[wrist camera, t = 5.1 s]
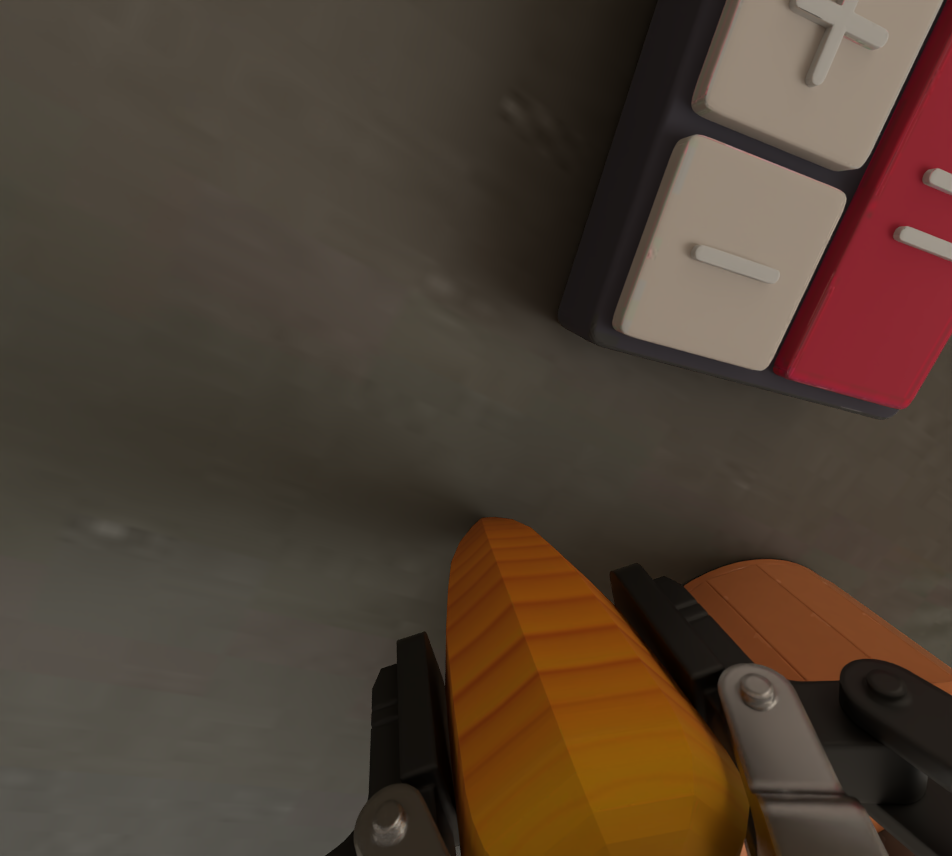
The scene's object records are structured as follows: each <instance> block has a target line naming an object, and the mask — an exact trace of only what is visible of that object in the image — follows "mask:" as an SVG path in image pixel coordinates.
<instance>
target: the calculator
mask: <svg viewBox="0 0 952 856" xmlns="http://www.w3.org/2000/svg"><path fill="white" fill-rule="evenodd" d="M558 320H559V323H560V324H561V325H562V326H563V327H565V328H566V329H568V330H570V331H571V332H573V333H575V334H577V335H579V336H581V337H582V338H584V339H586V340H588V341H590V342H592V343H594V344H596V345H598V346H601V347H604V348H608V349H612V350H616V351H620V352H623V353H627V354H631V355H635V356H639V357H642V358H646V359H650V360H654V361H658V362H661V363H665V364H669V365H673V366H677V367H681V368H684V369H688V370H692V371H696V372H700V373H703V374H707V375H711V376H715V377H719V378H722V379H726V380H730V381H734V382H738V383H741V384H745V385H749V386H753V387H757V388H761V389H764V390H768V391H772V392H776V393H780V394H783V395H787V396H791V397H795V398H799V399H802V400H806V401H810V402H814V403H818V404H822V405H825V406H829V407H833V408H837V409H841V410H844V411H848V412H852V413H856V414H860V415H863V416H867V417H871V418H875V419H880V420H884V419H888V418H890V417H892V416H894V415H895V414H896V413H897V412H898V410H899V409H904V408H906V407H908V406H909V405H910V403H911V402H912V400H913V399H914V397H915V396H916V394H917V392H918V391H919V389H920V387H921V386H922V384H923V382H924V381H925V379H926V377H927V375H928V374H929V372H930V370H931V369H932V367H933V365H934V363H935V362H936V360H937V358H938V357H939V355H940V353H941V351H942V350H943V348H944V346H945V345H946V343H947V341H948V340H949V338H950V336H951V334H952V0H658V2H657V5H656V8H655V11H654V14H653V17H652V20H651V23H650V26H649V30H648V33H647V36H646V39H645V42H644V45H643V48H642V51H641V54H640V57H639V61H638V64H637V67H636V70H635V73H634V76H633V79H632V82H631V85H630V89H629V92H628V95H627V98H626V101H625V104H624V107H623V110H622V113H621V117H620V120H619V123H618V126H617V129H616V132H615V135H614V138H613V141H612V145H611V148H610V151H609V154H608V157H607V160H606V163H605V166H604V169H603V173H602V176H601V179H600V182H599V185H598V188H597V191H596V194H595V197H594V201H593V204H592V207H591V210H590V213H589V216H588V219H587V222H586V225H585V229H584V232H583V235H582V238H581V241H580V244H579V247H578V250H577V253H576V257H575V260H574V263H573V266H572V269H571V272H570V275H569V278H568V281H567V284H566V288H565V291H564V294H563V297H562V300H561V303H560V306H559V310H558Z"/></svg>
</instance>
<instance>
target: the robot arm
mask: <svg viewBox="0 0 952 856" xmlns="http://www.w3.org/2000/svg"><path fill="white" fill-rule="evenodd" d="M610 581H611V586H612V592H613V597H614V603H615V606H616V607H617V608H618V609H619V610H620V611H621V612H622V614H623V615H624V616H625V618H626V619H627V620H628V621H629V623H630V624H631V625H632V626H633V628H634V629H635V630H636V631H637V633H638V634H639V635H640V637H641V638H642V639H643V640H644V642H645V643H646V644H647V645H648V647H649V648H650V649H651V650H652V652H653V653H654V654H655V656H656V657H657V658H658V659H659V661H660V662H661V663H662V664H663V666H664V667H665V668H666V669H667V671H668V672H669V674H670V675H671V676H672V678H673V679H674V680H675V682H676V683H677V684H678V686H679V687H680V688H681V690H682V691H683V693H684V694H685V695H686V697H687V698H688V699H689V701H690V702H691V704H692V705H693V706H694V708H695V709H696V710H697V711H698V713H699V714H700V715H701V717H702V718H703V719H704V721H705V722H706V723H707V725H708V726H709V728H710V729H711V730H712V732H713V733H714V734H715V736H716V737H717V738H718V740H719V741H720V742H721V744H722V745H723V746H724V748H725V749H726V750H727V752H728V754H729V756H730V757H731V759H732V761H733V762H734V764H735V766H736V768H737V769H738V771H739V773H740V775H741V779H742V782H743V785H744V789H745V792H746V795H747V798H748V802H749V805H750V807H749V816H748V824H747V832H746V837H745V840H744V844H745V848H746V851H747V855H748V856H889V855H888V853H887V851H886V849H885V847H884V845H883V843H882V841H881V839H880V837H879V835H878V833H877V831H876V829H875V827H874V825H873V823H872V821H871V819H870V817H871V818H872V819H874V820H875V821H876V822H877V823H878V824H879V825H881V826H882V827H883V828H884V829H885V830H886V831H888V832H889V833H890V834H891V835H892V836H893V837H895V838H896V839H897V840H898V841H899V842H900V843H902V844H903V845H904V846H905V847H906V848H907V849H909V850H910V851H911V852H912V853H913V854H914V855H916V856H952V695H950V694H949V693H947V692H945V691H944V690H942V689H940V688H938V687H937V686H935V685H933V684H931V683H930V682H928V681H926V680H925V679H923V678H921V677H919V676H918V675H916V674H914V673H912V672H911V671H909V670H907V669H905V668H903V667H901V666H899V665H896V664H894V663H891V662H887V661H883V660H878V659H858V660H854V661H851V662H849V663H848V664H846V665H845V666H844V667H843V668H842V670H841V672H840V680H836V681H794V680H788V679H786V678H785V677H784V676H783V675H781V674H780V673H778V672H777V671H775V670H773V669H771V668H769V667H766V666H763V665H759V664H755V663H754V662H753V661H752V660H751V659H750V658H749V657H748V656H747V655H746V654H745V653H744V652H743V651H742V649H741V648H740V647H739V646H738V645H737V644H736V643H735V642H734V641H733V640H732V639H731V637H730V636H729V635H728V634H727V633H726V632H725V631H724V630H723V629H722V628H721V627H720V625H719V624H718V623H717V622H716V621H715V620H714V619H713V618H712V617H711V616H710V615H708V613H707V611H706V610H705V609H704V608H703V607H702V606H701V605H700V604H699V603H697V601H696V599H695V598H694V597H693V596H692V595H691V594H690V593H689V592H688V591H687V589H686V588H685V587H684V586H682V585H681V584H679V583H677V582H675V581H673V580H671V579H669V578H667V577H665V576H663V577H660V578H657V579H654V580H652V578H651V577H650V576H649V575H648V574H647V572H646V571H645V570H644V569H643V568H642V566H641V565H640V564H638V563H635V564H632V565H629V566H626V567H623V568H620V569H617V570H614V571H611V572H610ZM371 726H372V729H371V746H370V775H369V796H368V801H367V803H366V804H365V805H364V807H363V808H362V810H361V812H360V814H359V816H358V818H357V821H356V825H355V828H354V830H353V832H352V833H351V834H350V835H349V836H348V838H347V839H346V840H345V841H344V842H342V843H341V844H340V845H339V846H338V847H336V848H335V849H334V850H332V851H331V852H330V853H328V854H327V855H326V856H456V850H455V847H457V846H459V845H460V841H459V832H458V823H457V812H456V804H455V795H454V786H453V777H452V768H451V756H450V743H449V731H448V718H447V706H446V693H445V685H444V681H443V678H442V675H441V672H440V669H439V666H438V663H437V661H436V658H435V655H434V652H433V649H432V647H431V644H430V641H429V638H428V636H427V633H426V632H422V633H418V634H415V635H412V636H409V637H406V638H403V639H400V640H398V641H397V664H394V665H391V666H388V667H385V668H382V669H381V670H380V673H379V675H378V677H377V679H376V682H375V684H374V686H373V688H372V716H371ZM869 816H870V817H869Z"/></svg>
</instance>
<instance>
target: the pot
mask: <svg viewBox="0 0 952 856" xmlns="http://www.w3.org/2000/svg"><path fill="white" fill-rule="evenodd" d="M684 587H685V588H686V589H687V591H688V592H689V593H690V594H691V595H692V596H693V597H694V598H695V599H696V601H697V603H699V604H700V605H701V606H702V607H703V608H704V609H705V610H706V611H707V613H708V615H710V616H711V617H712V618H713V619H714V620H715V621H716V622H717V623H718V624H719V625H720V627H721V628H722V629H723V630H724V631H725V632H726V633H727V634H728V635H729V636H730V637H731V639H732V640H733V641H734V642H735V643H736V644H737V645H738V646H739V647H740V648H741V649H742V651H743V652H744V653H745V654H746V655H747V656H748V657H749V658H750V659H751V660H752V661H753V662H754V663H755V664H759V665H763V666H766V667H769V668H771V669H773V670H775V671H777V672H778V673H780V674H781V675H783V676H784V677H785V678H786V679H788V680H794V681H836V680H840V672H841V670H842V668H843V667H844V666H845V665H846V664H848V663H849V662H851V661H854V660H858V659H878V660H883V661H887V662H891V663H894V664H896V665H899V666H901V667H903V668H905V669H907V670H909V671H911V672H912V673H914V674H916V675H918V676H919V677H921V678H923V679H925V680H926V681H928V682H930V683H939V682H950V681H952V668H950V667H949V666H948V665H946V664H945V663H943V662H942V661H941V660H939V659H938V658H936V657H935V656H934V655H932V654H931V653H929V652H928V651H927V650H925V649H924V648H923V647H921V646H920V645H918V644H917V643H916V642H914V641H913V640H911V639H910V638H909V637H907V636H906V635H904V634H903V633H902V632H900V631H899V630H897V629H896V628H895V627H893V626H892V625H890V624H889V623H888V622H886V621H885V620H883V619H882V618H881V617H879V616H878V615H877V614H875V613H874V612H872V611H871V610H870V609H868V608H867V607H865V606H864V605H863V604H861V603H860V602H858V601H857V600H856V599H854V598H853V597H851V596H850V595H849V594H847V593H846V592H844V591H843V590H842V589H840V588H839V587H837V586H836V585H835V584H833V583H832V582H830V581H828V580H826V579H824V578H822V577H821V576H819V575H818V574H816V573H815V572H813V571H812V570H810V569H808V568H806V567H804V566H802V565H799V564H796V563H793V562H789V561H785V560H776V559H755V560H748V561H742V562H737V563H734V564H730V565H726V566H723V567H720V568H718V569H715V570H713V571H710V572H708V573H706V574H704V575H702V576H700V577H698V578H696V579H694V580H692V581H691V582H689V583H687V584H686V585H684Z"/></svg>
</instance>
